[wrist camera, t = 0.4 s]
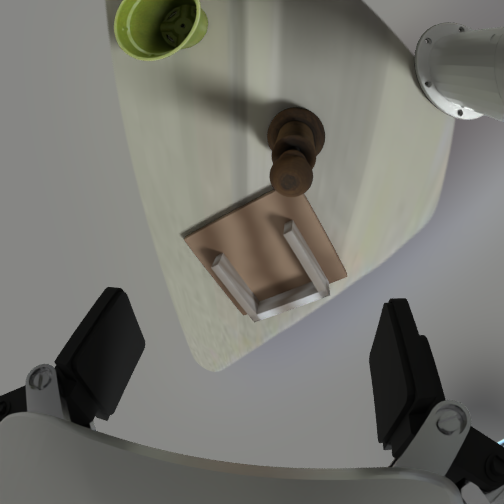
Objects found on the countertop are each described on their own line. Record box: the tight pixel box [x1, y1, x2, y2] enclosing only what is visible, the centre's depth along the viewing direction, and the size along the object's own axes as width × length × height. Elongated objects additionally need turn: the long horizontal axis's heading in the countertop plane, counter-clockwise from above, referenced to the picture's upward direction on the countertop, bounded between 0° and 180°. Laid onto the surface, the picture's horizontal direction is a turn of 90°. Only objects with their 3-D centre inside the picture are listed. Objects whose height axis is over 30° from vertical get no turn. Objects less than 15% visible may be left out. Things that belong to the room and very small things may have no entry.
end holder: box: [184, 189, 347, 322], centre depth 43 cm, size 18×16×4 cm
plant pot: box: [114, 0, 208, 61], centre depth 26 cm, size 9×9×9 cm
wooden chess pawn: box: [267, 107, 325, 197], centre depth 28 cm, size 7×6×18 cm
